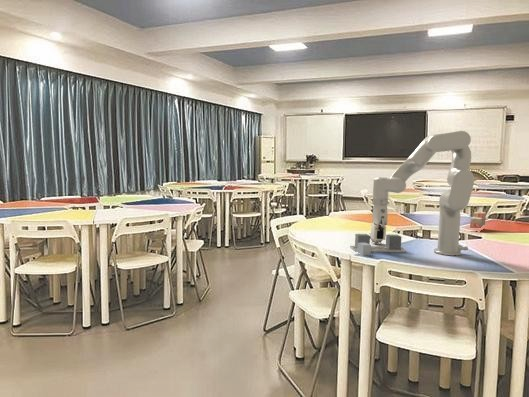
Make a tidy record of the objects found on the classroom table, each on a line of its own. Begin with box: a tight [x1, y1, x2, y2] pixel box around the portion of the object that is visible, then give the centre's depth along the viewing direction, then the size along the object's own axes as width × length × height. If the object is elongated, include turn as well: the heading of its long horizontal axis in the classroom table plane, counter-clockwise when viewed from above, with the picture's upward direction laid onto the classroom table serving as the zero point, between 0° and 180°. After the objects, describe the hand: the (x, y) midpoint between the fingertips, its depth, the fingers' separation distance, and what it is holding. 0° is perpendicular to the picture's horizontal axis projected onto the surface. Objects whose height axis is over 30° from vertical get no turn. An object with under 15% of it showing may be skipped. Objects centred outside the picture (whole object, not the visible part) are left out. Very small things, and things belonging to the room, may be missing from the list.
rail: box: [349, 233, 407, 253], centre depth 217 cm, size 26×9×8 cm, turn 93°
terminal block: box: [356, 243, 372, 256], centre depth 206 cm, size 4×6×5 cm, turn 14°
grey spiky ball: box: [368, 232, 383, 246], centre depth 234 cm, size 9×8×10 cm
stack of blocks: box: [469, 211, 487, 229], centre depth 297 cm, size 21×6×12 cm, turn 145°
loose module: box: [370, 223, 387, 241], centre depth 216 cm, size 6×5×7 cm
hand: (378, 237), depth 217 cm, fingers closed on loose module, 5 cm apart
